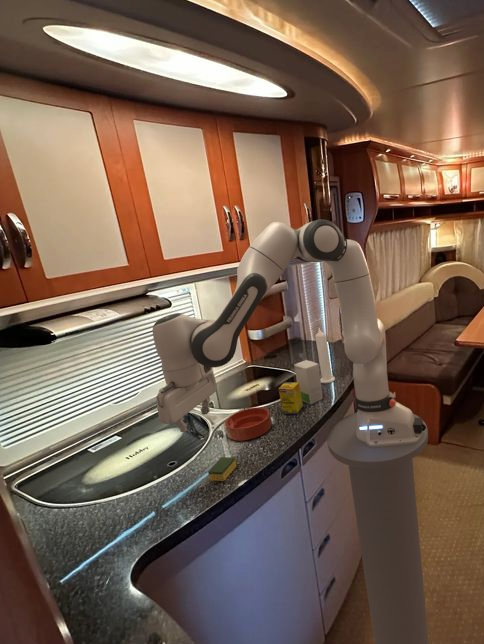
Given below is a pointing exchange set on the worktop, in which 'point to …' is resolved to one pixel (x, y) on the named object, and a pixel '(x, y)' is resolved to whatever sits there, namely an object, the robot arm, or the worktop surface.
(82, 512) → the worktop surface
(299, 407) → the supplement box
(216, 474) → the sponge
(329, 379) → the candle
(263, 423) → the bowl
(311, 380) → the cosmetic box
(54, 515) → the worktop surface
